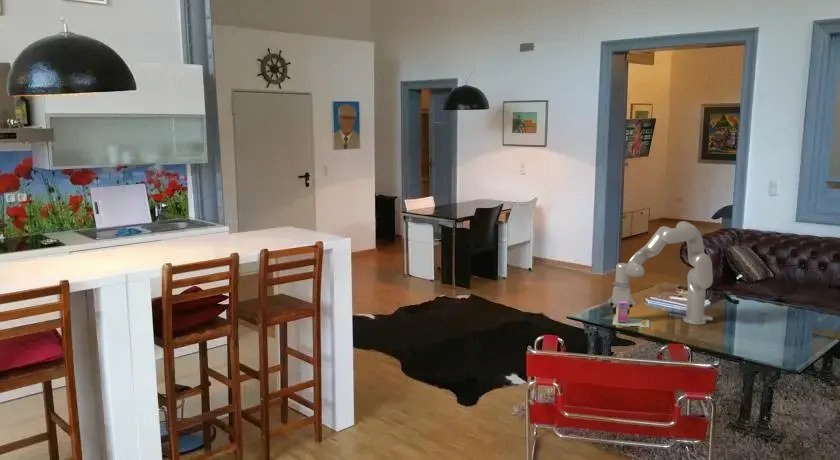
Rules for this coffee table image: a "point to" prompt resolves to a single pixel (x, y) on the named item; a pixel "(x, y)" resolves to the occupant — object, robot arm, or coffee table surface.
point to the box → (621, 311)
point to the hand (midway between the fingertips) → (620, 314)
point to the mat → (631, 322)
